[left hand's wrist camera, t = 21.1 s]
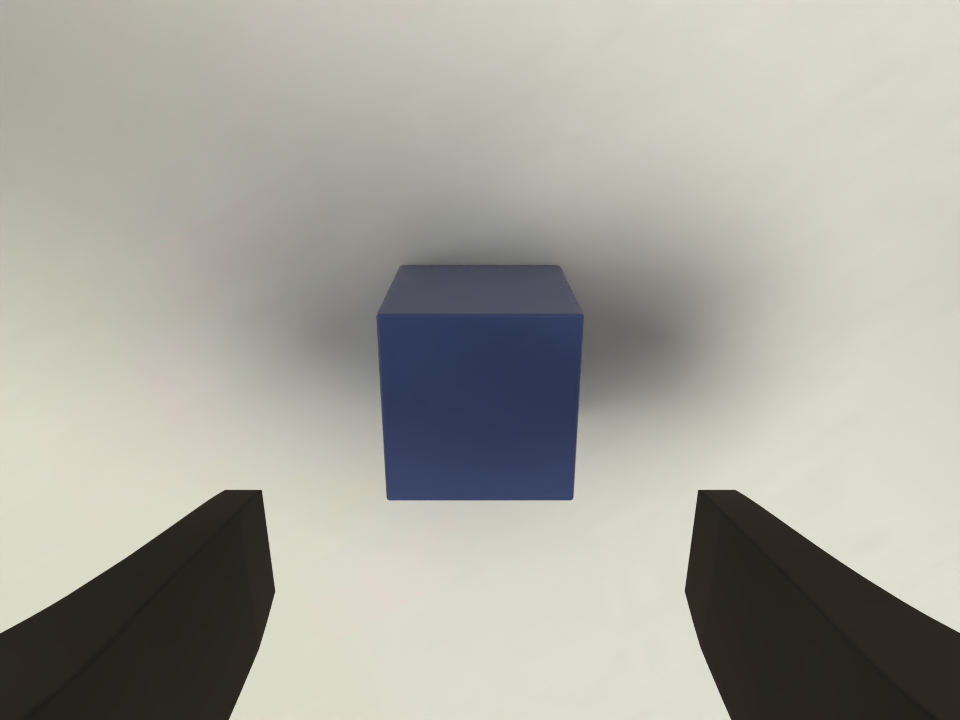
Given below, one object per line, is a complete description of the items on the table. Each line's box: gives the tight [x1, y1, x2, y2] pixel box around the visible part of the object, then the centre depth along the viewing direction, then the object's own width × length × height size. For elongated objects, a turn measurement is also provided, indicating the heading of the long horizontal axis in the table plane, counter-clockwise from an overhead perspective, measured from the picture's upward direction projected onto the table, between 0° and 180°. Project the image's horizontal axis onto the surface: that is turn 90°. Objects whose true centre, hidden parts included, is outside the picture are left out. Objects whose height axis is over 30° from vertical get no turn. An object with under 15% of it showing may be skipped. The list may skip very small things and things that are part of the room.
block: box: [376, 266, 584, 500], centre depth 18 cm, size 5×4×5 cm
